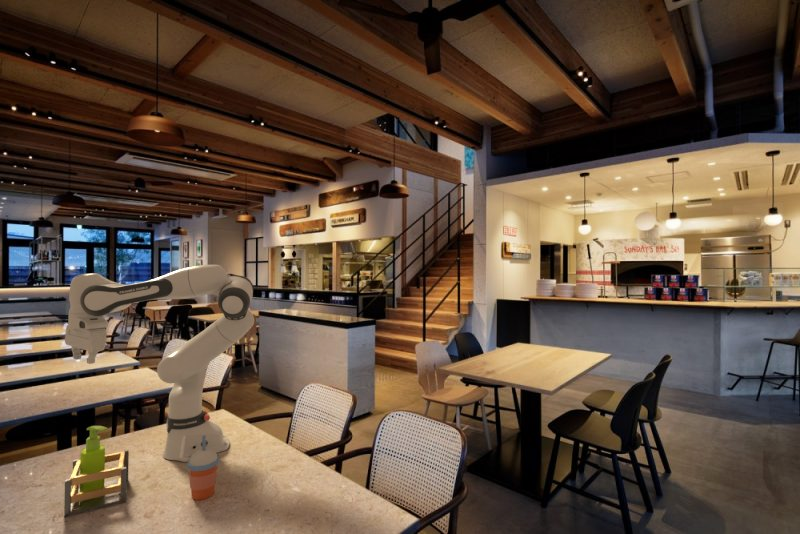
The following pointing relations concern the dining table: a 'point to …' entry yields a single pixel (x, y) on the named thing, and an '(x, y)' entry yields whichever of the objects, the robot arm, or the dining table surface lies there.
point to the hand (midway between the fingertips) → (83, 361)
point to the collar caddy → (99, 497)
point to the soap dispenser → (92, 459)
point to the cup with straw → (203, 472)
